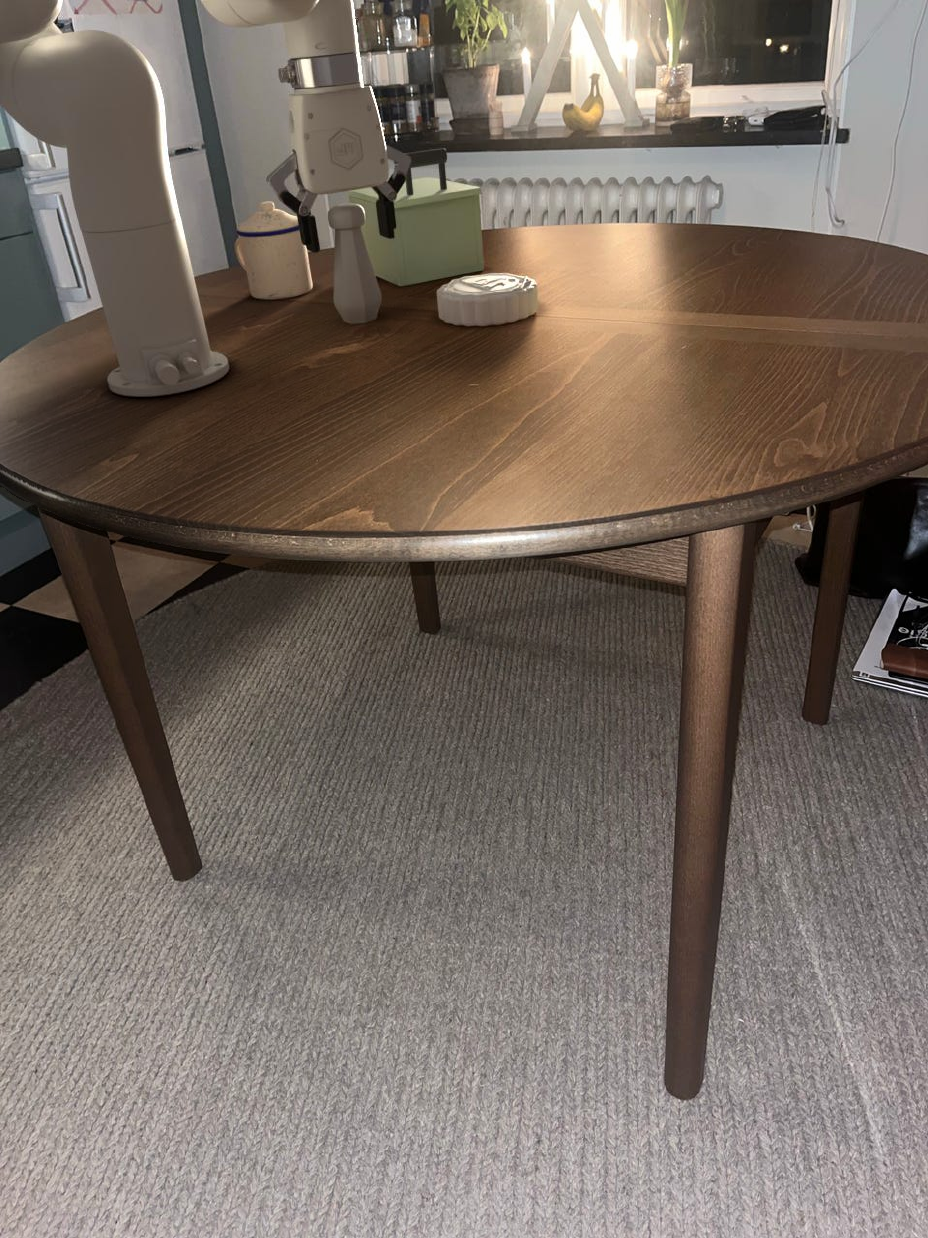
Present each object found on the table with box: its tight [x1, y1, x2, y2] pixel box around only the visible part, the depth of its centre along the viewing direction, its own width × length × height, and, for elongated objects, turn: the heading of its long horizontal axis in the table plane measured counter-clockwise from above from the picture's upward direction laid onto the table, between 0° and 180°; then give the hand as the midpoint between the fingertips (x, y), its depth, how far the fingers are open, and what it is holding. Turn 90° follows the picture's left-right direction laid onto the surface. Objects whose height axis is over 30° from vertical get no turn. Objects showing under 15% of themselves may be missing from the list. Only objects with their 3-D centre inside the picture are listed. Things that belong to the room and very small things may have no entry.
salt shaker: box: [327, 203, 383, 325], centre depth 112 cm, size 6×6×13 cm
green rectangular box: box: [348, 194, 485, 287], centre depth 134 cm, size 16×13×10 cm
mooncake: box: [436, 272, 539, 327], centre depth 112 cm, size 12×12×4 cm
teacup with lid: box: [234, 200, 314, 301], centre depth 129 cm, size 12×9×12 cm
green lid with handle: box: [347, 147, 483, 208], centre depth 129 cm, size 17×13×6 cm
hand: (350, 243), depth 111 cm, fingers open, 9 cm apart
